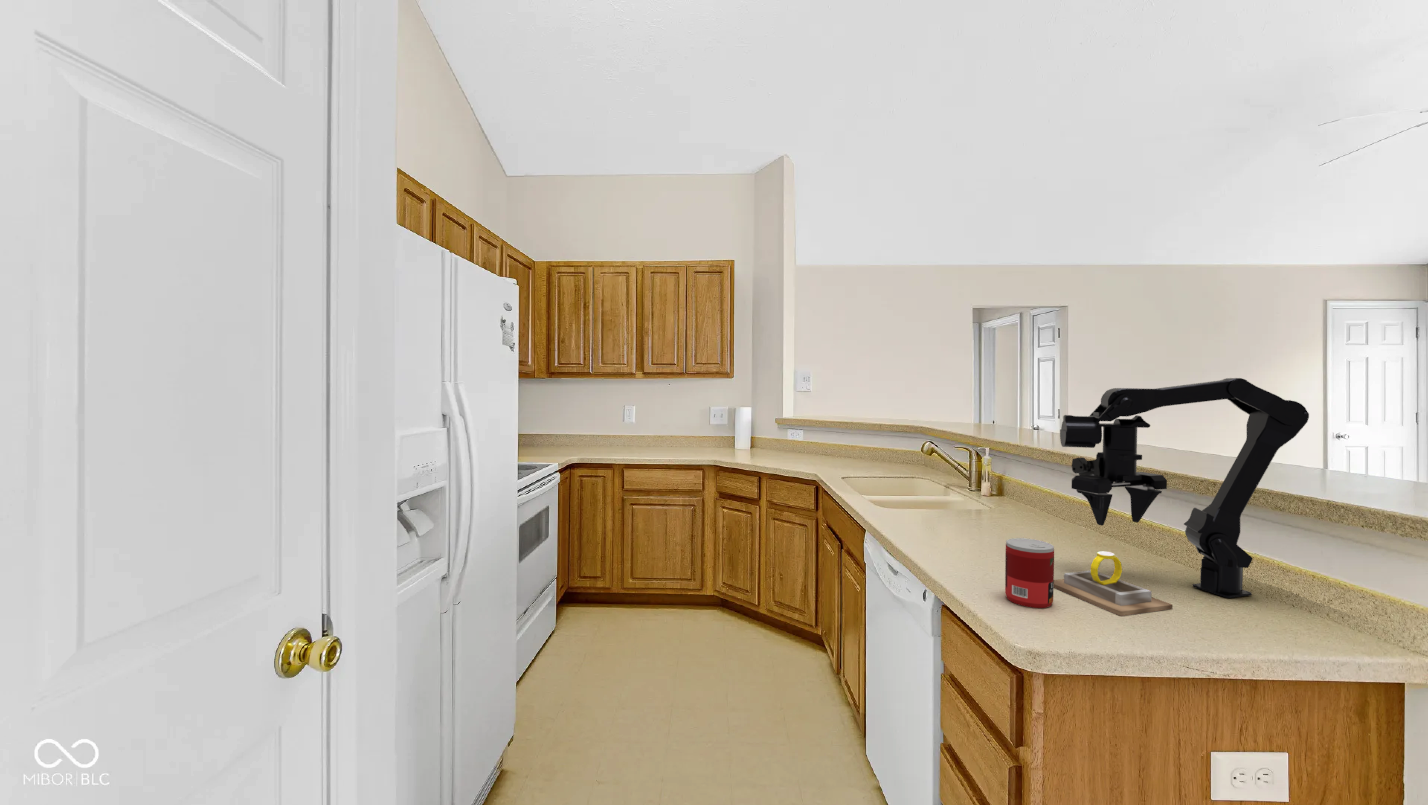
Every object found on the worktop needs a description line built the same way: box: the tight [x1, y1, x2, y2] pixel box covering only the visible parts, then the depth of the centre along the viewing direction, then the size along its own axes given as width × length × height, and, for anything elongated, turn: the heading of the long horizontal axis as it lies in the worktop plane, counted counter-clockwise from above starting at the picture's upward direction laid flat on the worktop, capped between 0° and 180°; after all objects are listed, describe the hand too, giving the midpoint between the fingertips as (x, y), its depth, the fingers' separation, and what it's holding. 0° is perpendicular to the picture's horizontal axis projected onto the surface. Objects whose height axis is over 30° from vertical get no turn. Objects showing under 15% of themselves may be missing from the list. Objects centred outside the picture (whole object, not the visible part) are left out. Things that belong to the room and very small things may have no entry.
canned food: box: [1004, 537, 1055, 609], centre depth 106 cm, size 8×8×11 cm
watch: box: [1090, 550, 1123, 585], centre depth 107 cm, size 6×3×6 cm, turn 102°
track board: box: [1054, 569, 1173, 617], centre depth 108 cm, size 12×16×3 cm
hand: (1118, 523), depth 116 cm, fingers open, 9 cm apart
